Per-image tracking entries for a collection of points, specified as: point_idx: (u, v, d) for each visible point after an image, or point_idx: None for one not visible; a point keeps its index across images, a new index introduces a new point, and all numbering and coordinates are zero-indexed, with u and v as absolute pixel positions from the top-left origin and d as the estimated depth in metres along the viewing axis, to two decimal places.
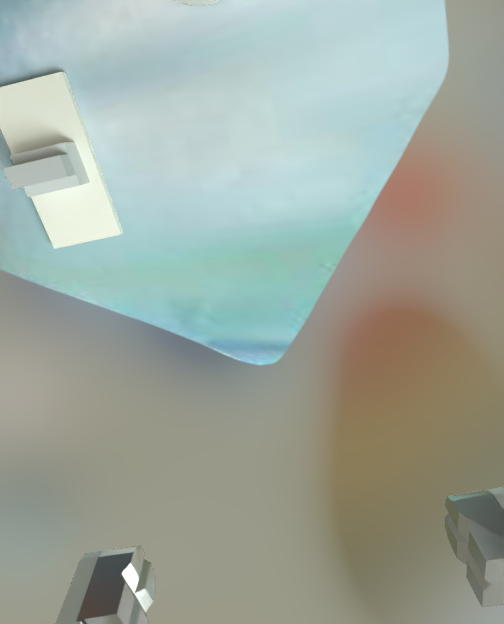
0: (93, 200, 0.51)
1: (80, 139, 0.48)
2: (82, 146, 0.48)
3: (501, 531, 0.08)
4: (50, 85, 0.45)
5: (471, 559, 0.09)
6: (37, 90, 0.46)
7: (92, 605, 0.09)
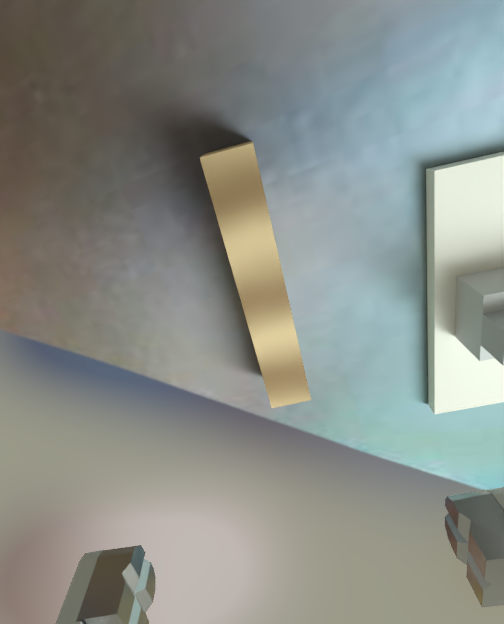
0: None
1: None
2: None
3: (501, 531, 0.08)
4: None
5: (471, 559, 0.09)
6: None
7: (92, 606, 0.09)
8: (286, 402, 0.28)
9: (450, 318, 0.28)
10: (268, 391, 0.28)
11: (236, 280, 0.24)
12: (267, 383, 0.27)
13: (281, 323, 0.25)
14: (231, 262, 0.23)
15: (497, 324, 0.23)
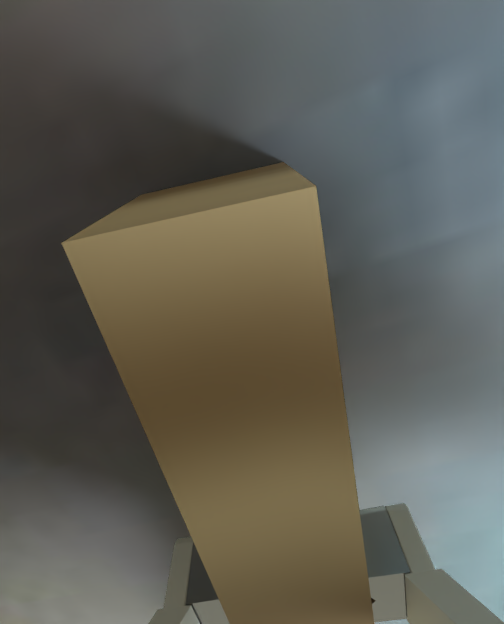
0: None
1: None
2: None
3: (386, 548, 0.08)
4: None
5: None
6: None
7: (198, 590, 0.08)
8: None
9: None
10: None
11: (222, 597, 0.08)
12: None
13: None
14: (206, 560, 0.07)
15: None
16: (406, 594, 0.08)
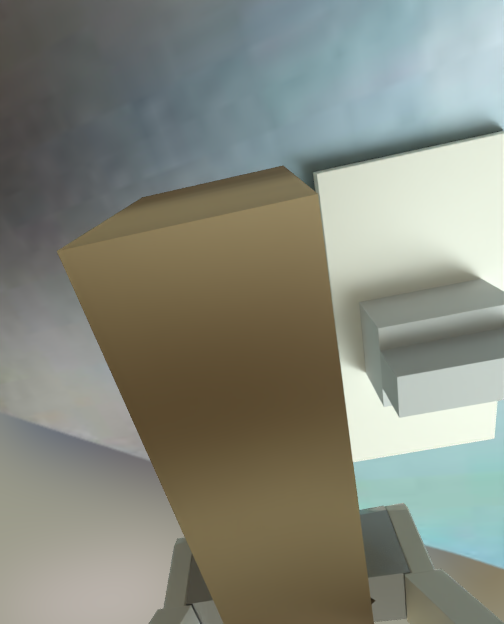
0: None
1: (495, 273, 0.21)
2: None
3: (386, 548, 0.08)
4: (479, 161, 0.19)
5: None
6: (443, 172, 0.19)
7: (198, 590, 0.08)
8: None
9: (358, 351, 0.23)
10: None
11: (221, 608, 0.07)
12: None
13: None
14: (206, 571, 0.07)
15: (391, 365, 0.18)
16: (406, 594, 0.08)
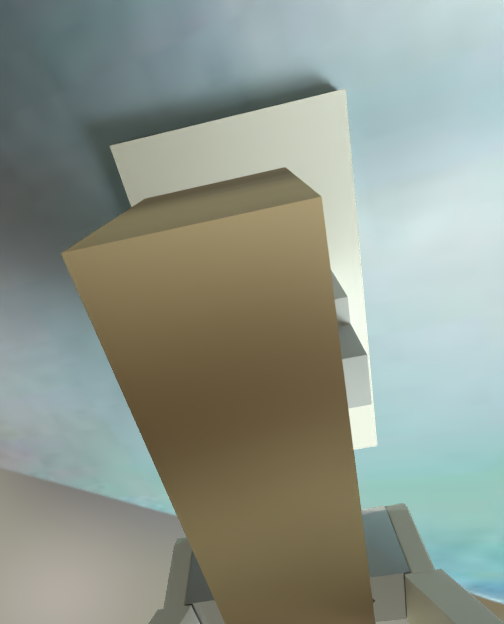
0: None
1: (346, 262, 0.18)
2: (346, 278, 0.19)
3: (386, 548, 0.08)
4: (303, 128, 0.16)
5: None
6: (262, 142, 0.16)
7: (198, 590, 0.08)
8: None
9: None
10: None
11: (223, 609, 0.07)
12: None
13: None
14: (207, 571, 0.07)
15: None
16: (406, 593, 0.08)
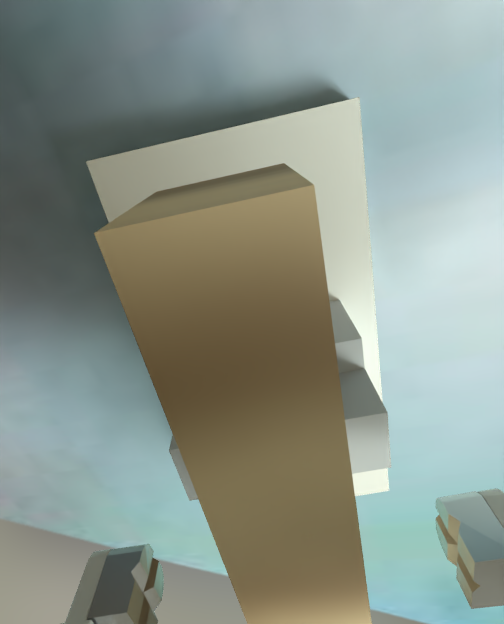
0: None
1: (357, 293, 0.16)
2: (357, 310, 0.17)
3: (490, 533, 0.08)
4: (309, 142, 0.14)
5: (461, 561, 0.09)
6: (263, 158, 0.14)
7: (101, 604, 0.09)
8: None
9: None
10: None
11: (227, 562, 0.08)
12: None
13: None
14: (214, 526, 0.08)
15: None
16: None
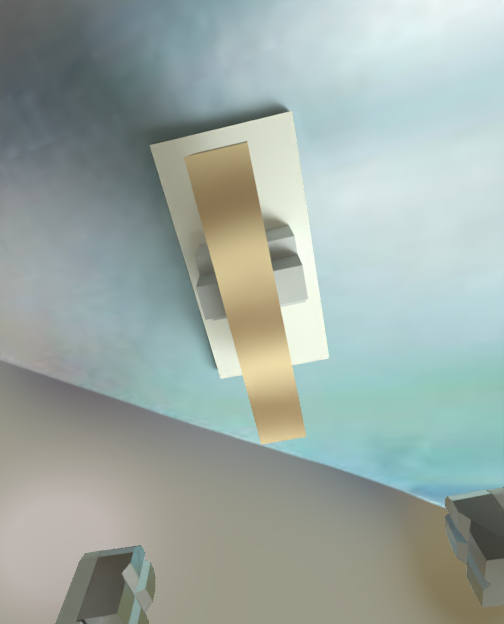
0: (298, 311, 0.32)
1: (299, 221, 0.28)
2: (299, 231, 0.29)
3: (501, 531, 0.08)
4: (267, 134, 0.26)
5: (471, 559, 0.09)
6: None
7: (92, 606, 0.09)
8: (278, 438, 0.25)
9: None
10: (258, 426, 0.24)
11: (224, 301, 0.20)
12: (257, 416, 0.24)
13: (274, 350, 0.22)
14: (219, 280, 0.20)
15: (198, 282, 0.25)
16: None
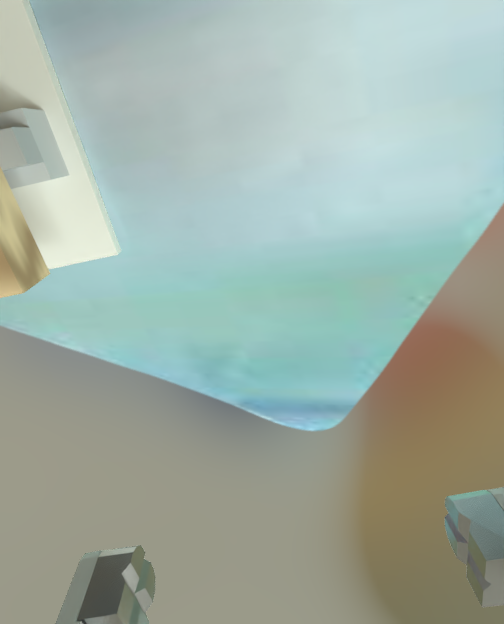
0: (75, 203, 0.33)
1: (52, 106, 0.30)
2: (56, 117, 0.30)
3: (501, 531, 0.08)
4: (0, 13, 0.27)
5: (471, 559, 0.09)
6: None
7: (91, 606, 0.09)
8: None
9: None
10: None
11: None
12: None
13: None
14: None
15: None
16: None
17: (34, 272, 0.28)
